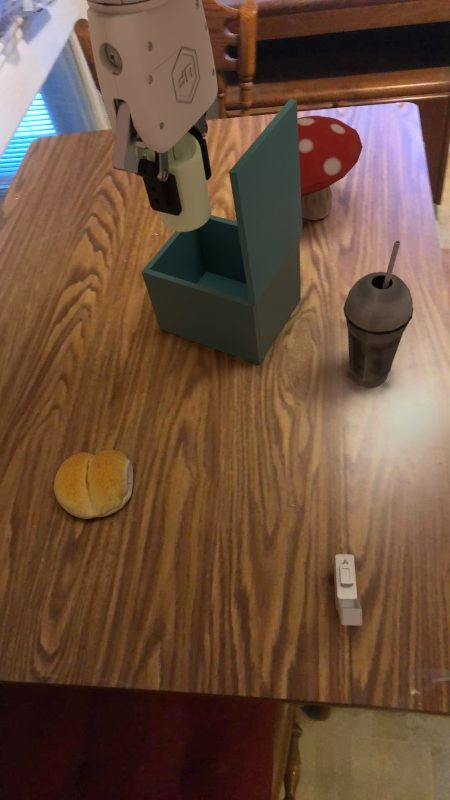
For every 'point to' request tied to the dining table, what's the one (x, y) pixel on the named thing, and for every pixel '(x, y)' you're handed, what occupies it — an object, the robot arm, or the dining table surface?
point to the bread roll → (94, 483)
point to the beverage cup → (376, 323)
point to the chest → (219, 292)
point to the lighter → (346, 590)
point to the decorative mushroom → (324, 160)
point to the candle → (187, 185)
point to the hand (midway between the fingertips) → (181, 191)
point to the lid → (268, 200)
